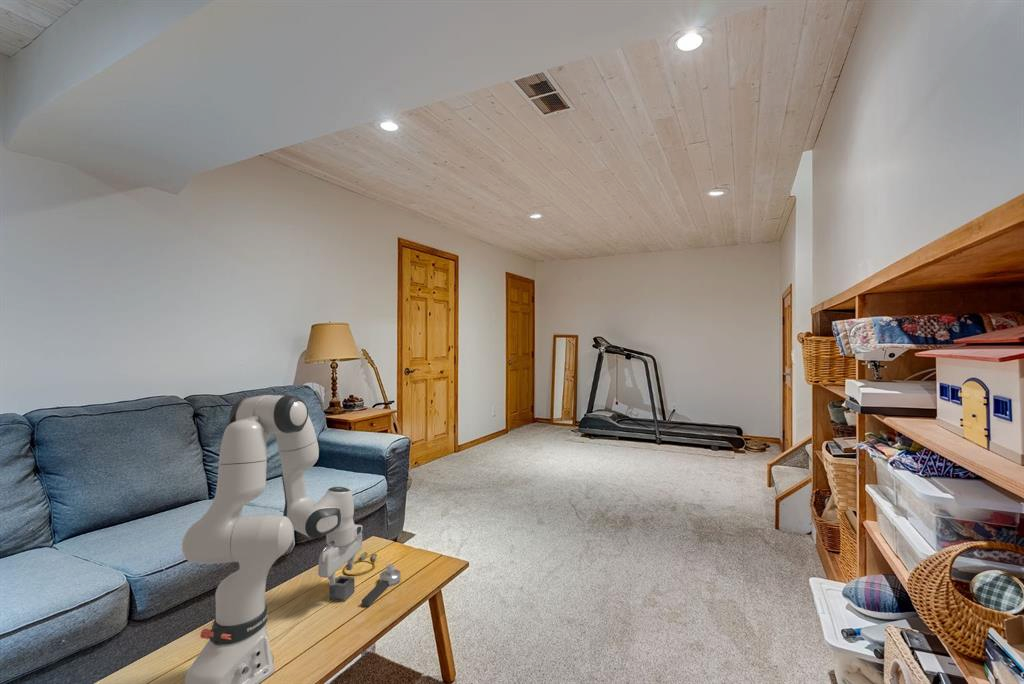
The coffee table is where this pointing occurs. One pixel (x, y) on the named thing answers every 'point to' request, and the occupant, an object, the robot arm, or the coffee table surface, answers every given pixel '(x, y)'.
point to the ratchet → (382, 584)
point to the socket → (342, 588)
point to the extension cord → (364, 561)
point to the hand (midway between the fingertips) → (341, 576)
